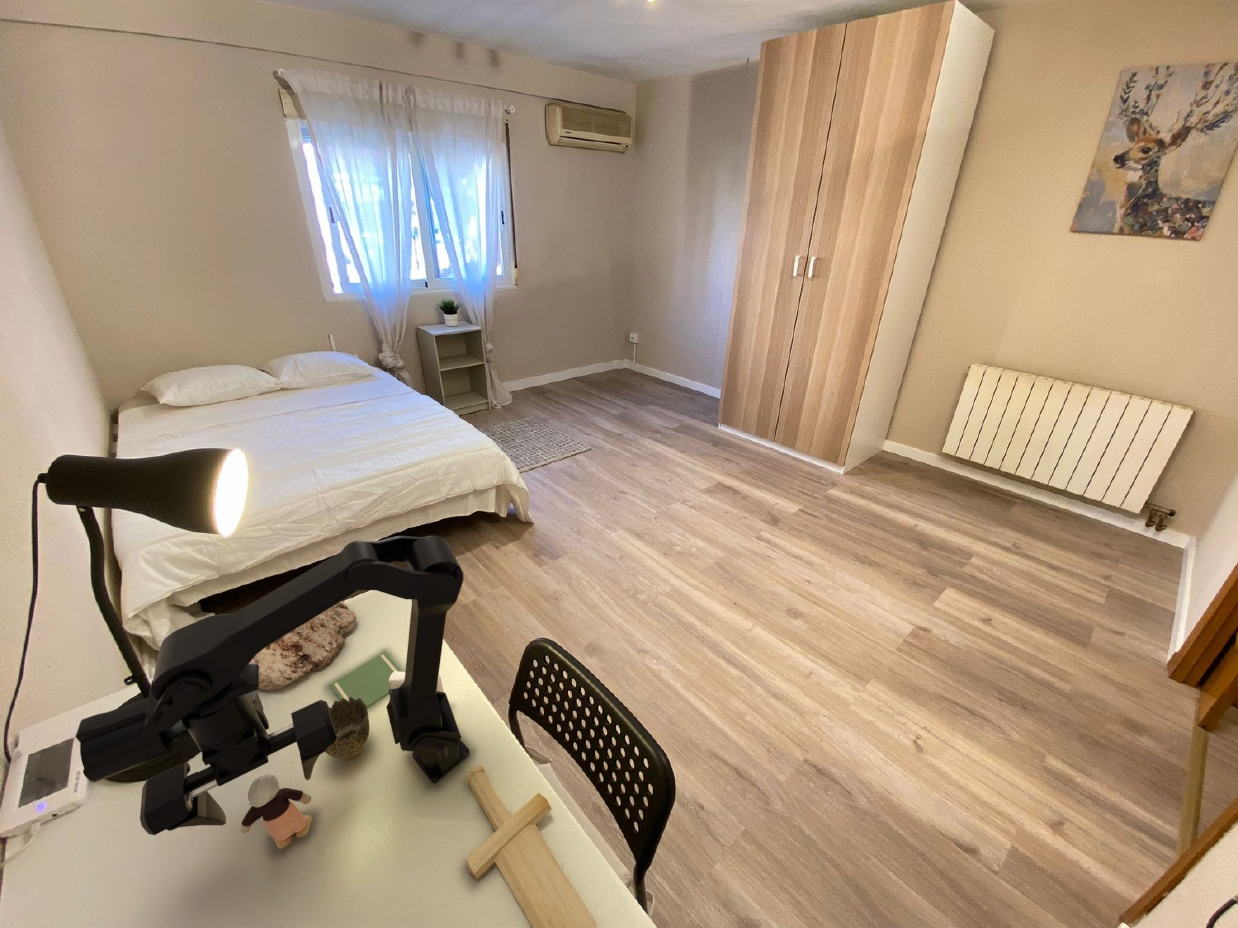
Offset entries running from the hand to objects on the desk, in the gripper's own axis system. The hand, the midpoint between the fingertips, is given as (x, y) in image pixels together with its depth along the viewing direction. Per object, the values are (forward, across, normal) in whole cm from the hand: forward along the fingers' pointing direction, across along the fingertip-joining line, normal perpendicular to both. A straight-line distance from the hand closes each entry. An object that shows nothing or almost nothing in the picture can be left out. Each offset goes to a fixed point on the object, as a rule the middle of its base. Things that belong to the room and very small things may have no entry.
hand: (267, 797), depth 65 cm
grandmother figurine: (+9, 0, 0) cm, 9 cm away
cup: (+9, -10, -7) cm, 15 cm away
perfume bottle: (+9, -21, -8) cm, 24 cm away
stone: (+4, -2, -39) cm, 40 cm away
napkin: (+9, -15, -19) cm, 25 cm away
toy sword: (+7, -24, +8) cm, 26 cm away
